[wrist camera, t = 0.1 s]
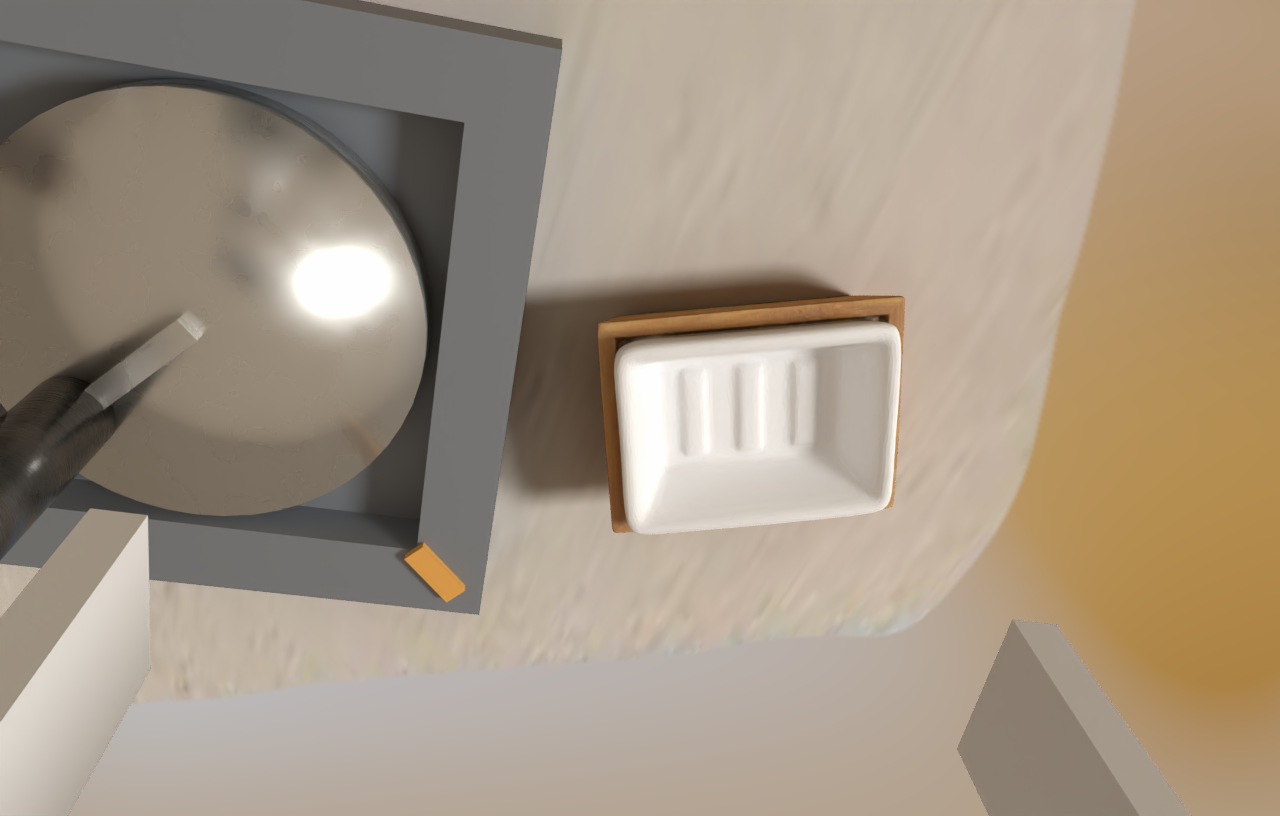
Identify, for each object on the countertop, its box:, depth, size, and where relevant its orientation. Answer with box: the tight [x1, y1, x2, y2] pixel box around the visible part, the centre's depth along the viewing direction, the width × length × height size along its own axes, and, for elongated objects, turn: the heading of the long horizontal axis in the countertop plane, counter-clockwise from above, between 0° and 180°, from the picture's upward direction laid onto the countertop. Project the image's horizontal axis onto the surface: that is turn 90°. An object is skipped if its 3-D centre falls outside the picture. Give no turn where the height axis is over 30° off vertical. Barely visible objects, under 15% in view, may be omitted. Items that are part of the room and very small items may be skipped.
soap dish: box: [598, 296, 905, 534], centre depth 42 cm, size 12×10×5 cm
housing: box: [0, 0, 562, 615], centre depth 39 cm, size 24×24×4 cm
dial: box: [0, 79, 432, 561], centre depth 33 cm, size 17×17×13 cm
